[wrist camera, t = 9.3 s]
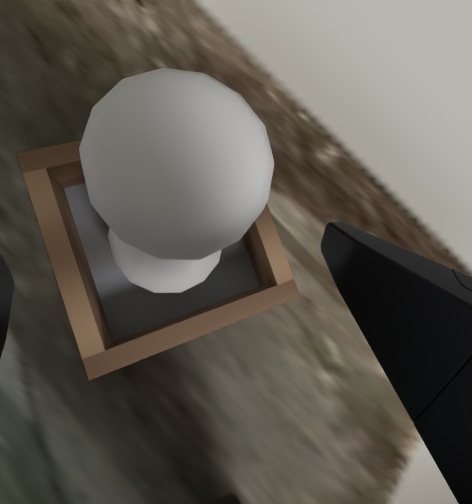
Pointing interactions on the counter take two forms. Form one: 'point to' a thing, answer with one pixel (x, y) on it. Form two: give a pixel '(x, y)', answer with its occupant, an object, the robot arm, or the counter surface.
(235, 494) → the counter surface
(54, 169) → the shaker dock
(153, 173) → the salt shaker
